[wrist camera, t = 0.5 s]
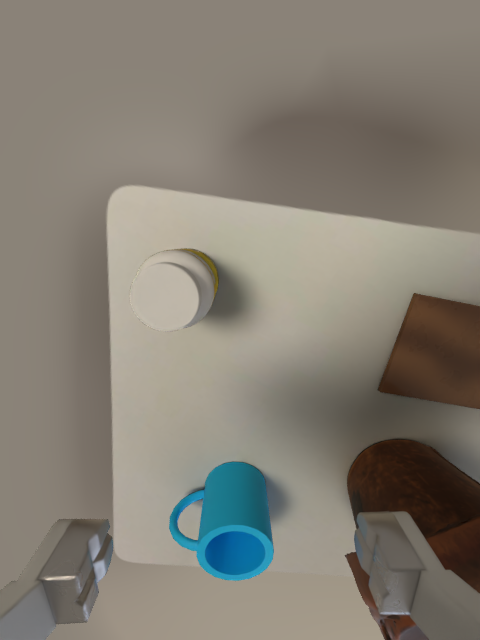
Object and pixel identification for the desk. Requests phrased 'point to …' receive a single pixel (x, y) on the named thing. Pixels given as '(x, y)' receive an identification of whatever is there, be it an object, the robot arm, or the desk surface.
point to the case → (417, 514)
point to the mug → (230, 523)
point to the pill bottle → (174, 289)
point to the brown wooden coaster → (436, 353)
